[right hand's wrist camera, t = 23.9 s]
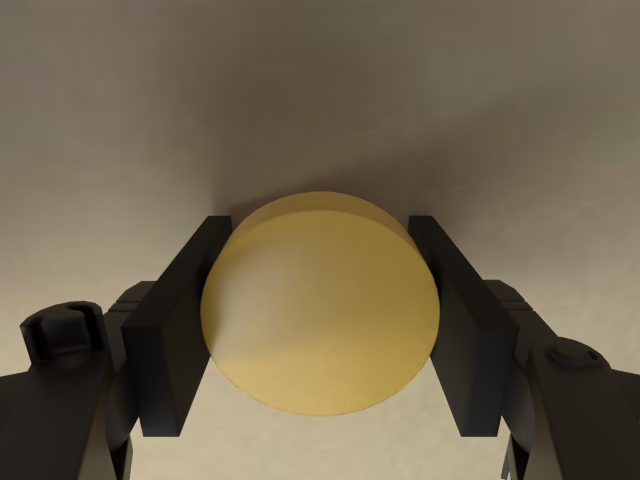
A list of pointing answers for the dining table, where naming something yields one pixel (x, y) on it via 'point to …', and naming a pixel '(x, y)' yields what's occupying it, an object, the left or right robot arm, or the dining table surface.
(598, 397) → the right robot arm
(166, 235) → the dining table surface
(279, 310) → the lid
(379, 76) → the dining table surface
